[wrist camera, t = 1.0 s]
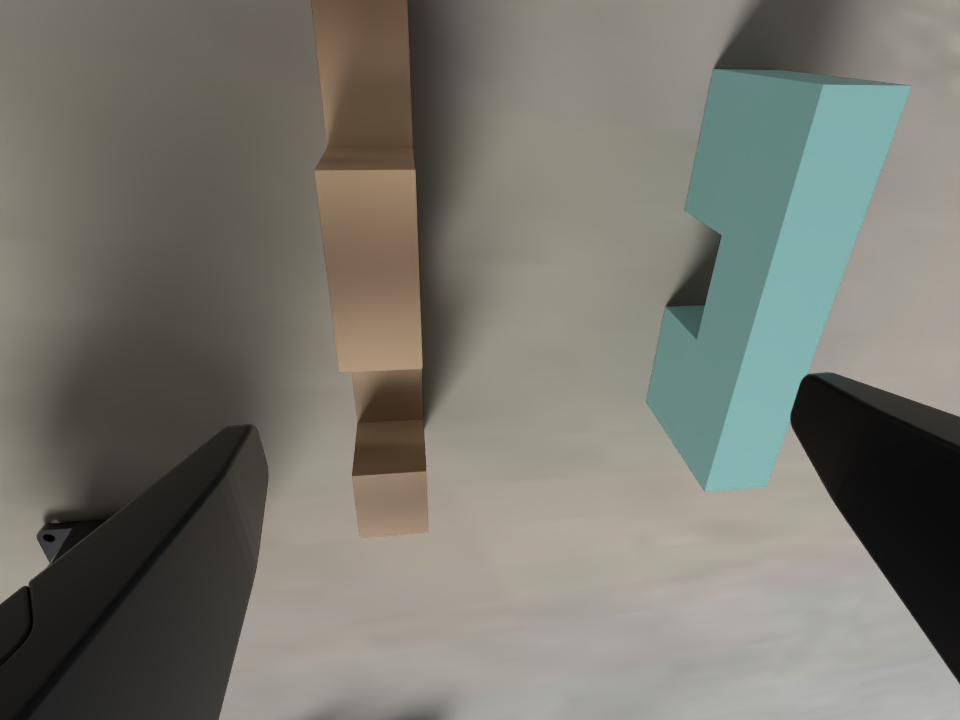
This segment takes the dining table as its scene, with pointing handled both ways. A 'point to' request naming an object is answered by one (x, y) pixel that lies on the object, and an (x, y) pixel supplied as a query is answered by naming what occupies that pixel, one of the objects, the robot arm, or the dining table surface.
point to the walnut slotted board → (374, 252)
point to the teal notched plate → (766, 258)
